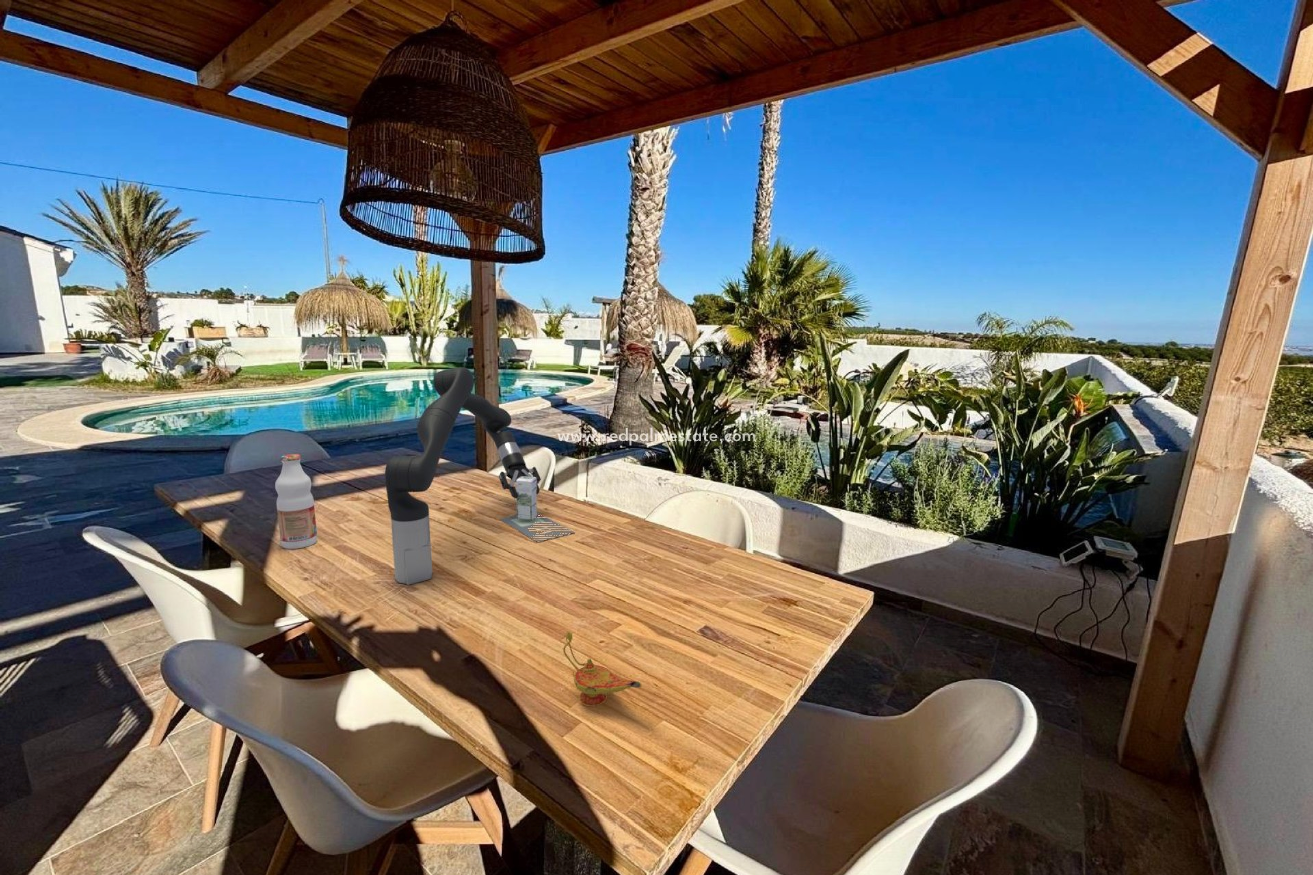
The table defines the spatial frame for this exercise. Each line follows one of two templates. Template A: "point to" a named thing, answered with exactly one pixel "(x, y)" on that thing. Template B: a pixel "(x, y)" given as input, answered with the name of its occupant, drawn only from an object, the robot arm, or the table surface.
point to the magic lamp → (596, 680)
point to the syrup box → (526, 498)
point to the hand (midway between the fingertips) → (527, 495)
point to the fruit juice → (295, 505)
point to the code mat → (525, 524)
